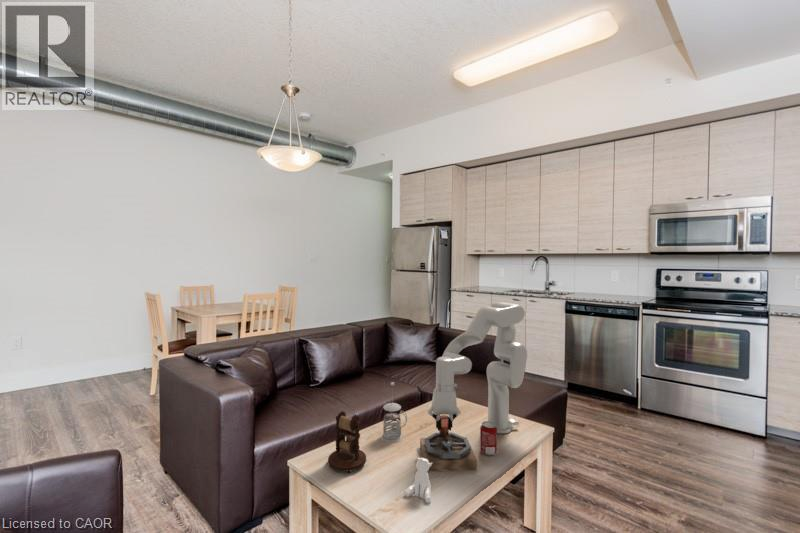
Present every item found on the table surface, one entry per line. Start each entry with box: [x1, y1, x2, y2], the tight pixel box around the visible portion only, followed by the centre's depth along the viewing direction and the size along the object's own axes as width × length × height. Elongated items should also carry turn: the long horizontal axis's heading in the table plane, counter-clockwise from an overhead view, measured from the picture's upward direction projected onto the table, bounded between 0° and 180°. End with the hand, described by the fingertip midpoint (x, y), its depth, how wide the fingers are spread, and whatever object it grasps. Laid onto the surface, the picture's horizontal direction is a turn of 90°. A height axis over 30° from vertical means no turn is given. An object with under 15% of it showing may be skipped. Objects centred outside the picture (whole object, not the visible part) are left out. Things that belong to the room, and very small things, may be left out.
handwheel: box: [424, 414, 472, 459], centre depth 154 cm, size 19×18×9 cm
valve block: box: [419, 436, 478, 472], centre depth 154 cm, size 20×18×4 cm
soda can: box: [479, 420, 498, 456], centre depth 158 cm, size 7×7×12 cm
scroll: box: [327, 411, 367, 474], centre depth 148 cm, size 15×15×20 cm
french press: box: [380, 381, 408, 443], centre depth 170 cm, size 10×12×25 cm
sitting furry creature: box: [403, 456, 432, 504], centre depth 131 cm, size 10×9×12 cm
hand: (444, 428), depth 161 cm, fingers closed on handwheel, 4 cm apart
